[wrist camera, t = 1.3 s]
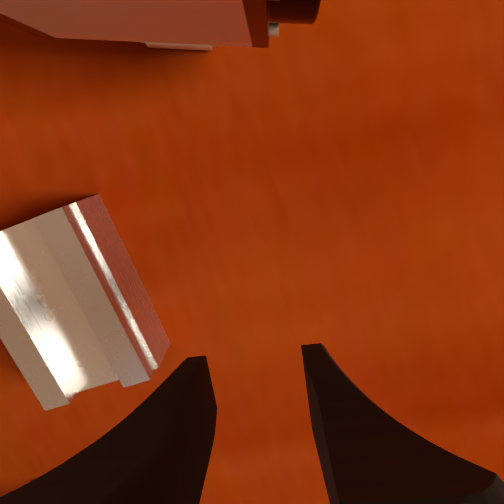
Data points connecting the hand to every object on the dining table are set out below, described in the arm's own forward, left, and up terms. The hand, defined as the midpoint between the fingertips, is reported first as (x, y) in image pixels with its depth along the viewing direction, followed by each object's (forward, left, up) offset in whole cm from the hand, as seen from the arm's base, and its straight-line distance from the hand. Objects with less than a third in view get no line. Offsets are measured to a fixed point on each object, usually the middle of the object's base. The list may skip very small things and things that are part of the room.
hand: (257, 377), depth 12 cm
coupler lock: (0, +11, -11) cm, 15 cm away
